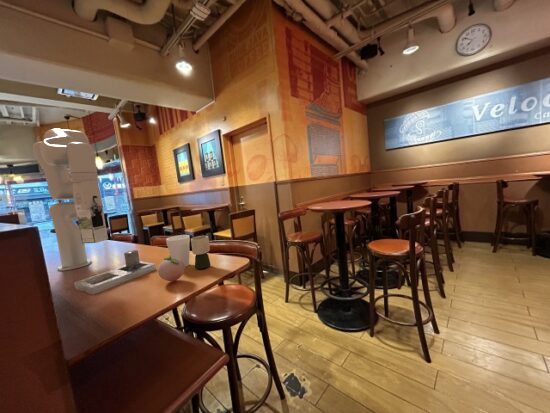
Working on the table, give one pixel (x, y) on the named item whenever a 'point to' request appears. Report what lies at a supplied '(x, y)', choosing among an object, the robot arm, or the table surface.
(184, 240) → the foam cup
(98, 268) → the table surface
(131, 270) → the hole plate
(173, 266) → the decorative fruit
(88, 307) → the table surface
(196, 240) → the character mug
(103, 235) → the syrup box
